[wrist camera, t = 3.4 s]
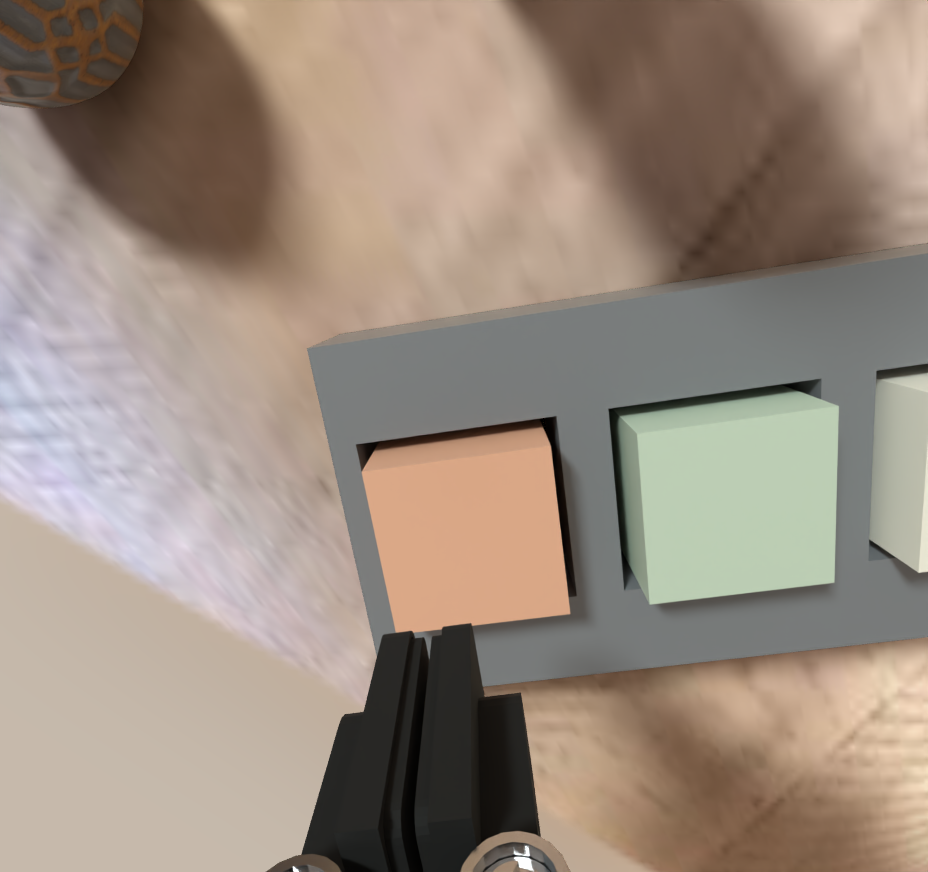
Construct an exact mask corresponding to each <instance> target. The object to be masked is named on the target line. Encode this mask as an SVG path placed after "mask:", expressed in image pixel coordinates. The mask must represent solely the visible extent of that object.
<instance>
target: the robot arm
mask: <svg viewBox="0 0 928 872" xmlns="http://www.w3.org/2000/svg"><path fill="white" fill-rule="evenodd" d="M267 872H570V870H569V868H568V866H567V864H566V862H565V860H564V858H563V856H562V854H561V853H560V852H559V851H558V850H557V849H556V848H555V847H554V846H553V845H552V844H551V843H550V842H548V841H546V840H545V839H543V838H541V835H540V827H539V819H538V811H537V804H536V796H535V788H534V780H533V773H532V765H531V758H530V751H529V744H528V737H527V730H526V723H525V717H524V710H523V703H522V697H521V693H514V694H506V695H498V696H490V697H484V691H483V685H482V679H481V673H480V668H479V662H478V656H477V650H476V644H475V638H474V632H473V627H472V624H471V623H467V624H459V625H451V626H444V627H442V635H437V636H432V640H431V649H430V659H429V655H428V650H427V645H426V641H425V638H424V637H421V638H415V635H414V633H413V631H405V632H397V633H390V634H384V635H383V636H382V638H381V642H380V647H379V651H378V655H377V659H376V663H375V667H374V671H373V676H372V680H371V684H370V688H369V692H368V696H367V700H366V705H365V709H364V712H360V713H352V714H345V715H344V716H343V717H342V719H341V721H340V724H339V727H338V730H337V733H336V737H335V740H334V744H333V748H332V751H331V754H330V758H329V761H328V765H327V768H326V772H325V775H324V779H323V782H322V785H321V789H320V792H319V796H318V799H317V803H316V806H315V809H314V813H313V816H312V820H311V823H310V827H309V830H308V834H307V837H306V840H305V844H304V847H303V851H302V854H301V855H298V856H294V857H292V858H289V859H287V860H284V861H282V862H280V863H278V864H277V865H275V866H274V867H272V868H271V869H269V870H268V871H267Z"/></svg>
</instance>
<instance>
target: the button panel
mask: <svg viewBox="0 0 928 872" xmlns="http://www.w3.org/2000/svg"><path fill="white" fill-rule="evenodd" d="M307 351H308V355H309V359H310V364H311V368H312V373H313V377H314V381H315V386H316V390H317V395H318V399H319V403H320V408H321V412H322V417H323V421H324V425H325V430H326V434H327V439H328V443H329V447H330V452H331V456H332V461H333V465H334V469H335V474H336V478H337V483H338V487H339V491H340V496H341V500H342V505H343V509H344V514H345V518H346V522H347V527H348V531H349V536H350V540H351V544H352V549H353V553H354V558H355V562H356V566H357V571H358V575H359V580H360V584H361V588H362V593H363V597H364V602H365V606H366V610H367V615H368V619H369V624H370V628H371V632H372V637H373V641H374V646H375V650H376V654H377V655H378V651H379V647H380V642H381V638H382V636H383V635H384V634H390V633H396V631H395V626H394V621H393V617H392V612H391V607H390V603H389V598H388V593H387V589H386V584H385V579H384V575H383V570H382V565H381V561H380V556H379V551H378V547H377V542H376V537H375V533H374V528H373V523H372V519H371V514H370V509H369V504H368V500H367V495H366V490H365V486H364V481H363V476H362V470H363V469H364V467H365V465H366V464H367V462H368V460H369V459H370V457H371V455H372V454H373V452H374V450H375V448H376V447H377V445H378V443H379V442H380V441H384V440H391V439H398V438H405V437H412V436H419V435H426V434H433V433H440V432H447V431H454V430H461V429H468V428H475V427H483V426H490V425H497V424H504V423H511V422H518V421H525V420H532V419H539V418H545V419H546V427H547V436H548V441H549V443H550V445H551V453H552V461H553V470H554V478H555V487H556V495H557V504H558V512H559V521H560V529H561V538H562V546H563V555H564V563H565V572H566V581H567V589H568V598H569V606H570V614H566V615H558V616H550V617H541V618H533V619H524V620H516V621H507V622H499V623H491V624H482V625H474V626H472V627H473V632H474V638H475V644H476V650H477V656H478V662H479V668H480V673H481V679H482V685H483V687H484V686H493V685H502V684H511V683H520V682H529V681H538V680H547V679H556V678H565V677H574V676H583V675H592V674H601V673H610V672H619V671H628V670H637V669H646V668H655V667H664V666H673V665H682V664H691V663H700V662H709V661H718V660H727V659H736V658H745V657H754V656H763V655H772V654H781V653H790V652H799V651H808V650H817V649H826V648H835V647H843V646H852V645H861V644H870V643H879V642H888V641H897V640H906V639H915V638H924V637H928V572H921V573H918V572H917V571H915V570H914V569H912V568H911V567H909V566H908V565H907V564H905V563H904V562H902V561H901V560H899V559H898V558H896V557H895V556H893V555H892V554H890V553H889V552H887V551H886V550H884V549H883V548H882V547H880V546H879V545H877V544H876V543H874V542H873V541H871V540H870V539H869V534H870V511H871V487H872V464H873V441H874V418H875V394H876V371H878V370H885V369H892V368H899V367H906V366H913V365H920V364H927V363H928V243H926V244H919V245H913V246H907V247H900V248H894V249H887V250H881V251H874V252H868V253H861V254H855V255H848V256H842V257H835V258H829V259H823V260H816V261H810V262H803V263H797V264H790V265H784V266H777V267H771V268H764V269H758V270H752V271H745V272H739V273H732V274H726V275H719V276H713V277H706V278H700V279H693V280H687V281H680V282H674V283H668V284H661V285H655V286H648V287H642V288H635V289H629V290H622V291H616V292H609V293H603V294H597V295H590V296H584V297H577V298H571V299H564V300H558V301H551V302H545V303H538V304H532V305H526V306H519V307H513V308H506V309H500V310H493V311H487V312H480V313H474V314H467V315H461V316H454V317H448V318H442V319H435V320H429V321H422V322H416V323H409V324H403V325H396V326H390V327H383V328H377V329H371V330H364V331H358V332H351V333H345V334H339V335H337V336H335V337H332V338H330V339H328V340H326V341H323V342H321V343H319V344H316V345H314V346H312V347H310V348H307ZM779 384H780V385H783V386H786V387H789V388H791V389H794V390H797V391H799V392H802V393H805V394H808V395H810V396H813V397H816V398H818V399H821V400H824V401H827V402H829V403H832V404H835V405H837V406H839V421H838V461H837V500H836V540H835V579H834V583H828V584H819V585H811V586H803V587H794V588H786V589H777V590H769V591H760V592H752V593H743V594H735V595H727V596H718V597H710V598H701V599H693V600H684V601H676V602H668V603H659V604H651V605H650V604H649V602H648V600H647V598H646V596H645V595H644V593H643V591H642V589H641V587H640V585H639V583H638V581H637V579H636V577H635V575H634V573H633V571H632V569H631V567H630V565H629V564H628V562H627V560H626V558H625V556H624V554H623V552H622V550H621V548H620V537H619V525H618V514H617V502H616V491H615V479H614V468H613V456H612V445H611V433H610V422H609V410H608V409H610V408H617V407H624V406H631V405H638V404H645V403H652V402H659V401H666V400H673V399H680V398H687V397H694V396H701V395H709V394H716V393H723V392H730V391H737V390H744V389H751V388H758V387H765V386H772V385H779ZM414 635H415V638H421V637H424V638H425V641H426V645H427V650H428V655H429V659H430V649H431V640H432V636H437V635H442V629H440V630H432V631H423V632H415V633H414Z"/></svg>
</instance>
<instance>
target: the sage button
mask: <svg viewBox="0 0 928 872" xmlns="http://www.w3.org/2000/svg"><path fill="white" fill-rule="evenodd" d="M608 410H609V422H610V433H611V445H612V456H613V468H614V479H615V491H616V502H617V514H618V525H619V537H620V548H621V550H622V552H623V554H624V556H625V558H626V560H627V562H628V564H629V565H630V567H631V569H632V571H633V573H634V575H635V577H636V579H637V581H638V583H639V585H640V587H641V589H642V591H643V593H644V595H645V596H646V598H647V600H648V602H649V604H650V605H651V604H659V603H668V602H676V601H684V600H693V599H701V598H710V597H718V596H727V595H735V594H743V593H752V592H760V591H769V590H777V589H786V588H794V587H803V586H811V585H819V584H828V583H834V579H835V540H836V500H837V461H838V421H839V406H837V405H835V404H832V403H829V402H827V401H824V400H821V399H818V398H816V397H813V396H810V395H808V394H805V393H802V392H799V391H797V390H794V389H791V388H789V387H786V386H783V385H780V384H779V385H772V386H765V387H758V388H751V389H744V390H737V391H730V392H723V393H716V394H709V395H701V396H694V397H687V398H680V399H673V400H666V401H659V402H652V403H645V404H638V405H631V406H624V407H617V408H610V409H608Z"/></svg>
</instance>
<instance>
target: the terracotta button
mask: <svg viewBox="0 0 928 872" xmlns="http://www.w3.org/2000/svg"><path fill="white" fill-rule="evenodd" d="M362 476H363V481H364V486H365V490H366V495H367V500H368V504H369V509H370V514H371V519H372V523H373V528H374V533H375V537H376V542H377V547H378V551H379V556H380V561H381V565H382V570H383V575H384V579H385V584H386V589H387V593H388V598H389V603H390V607H391V612H392V617H393V621H394V626H395V631H396V633H397V632H405V631H413V633H415V632H423V631H432V630H440V629H442V627H444V626H451V625H459V624H467V623H471V624H472V626H474V625H482V624H491V623H499V622H507V621H516V620H524V619H533V618H541V617H550V616H558V615H566V614H570V606H569V598H568V589H567V581H566V572H565V563H564V555H563V546H562V538H561V529H560V521H559V512H558V504H557V495H556V487H555V478H554V470H553V461H552V453H551V445H550V443H549V441H548V438H547V436H546V433H545V431H544V429H543V426H542V424H541V421H540V419H532V420H525V421H518V422H511V423H504V424H497V425H490V426H483V427H475V428H468V429H461V430H454V431H447V432H440V433H433V434H426V435H419V436H412V437H405V438H398V439H391V440H384V441H380V442H379V443H378V445H377V447H376V448H375V450H374V452H373V454H372V455H371V457H370V459H369V460H368V462H367V464H366V465H365V467H364V469H363V470H362Z"/></svg>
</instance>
